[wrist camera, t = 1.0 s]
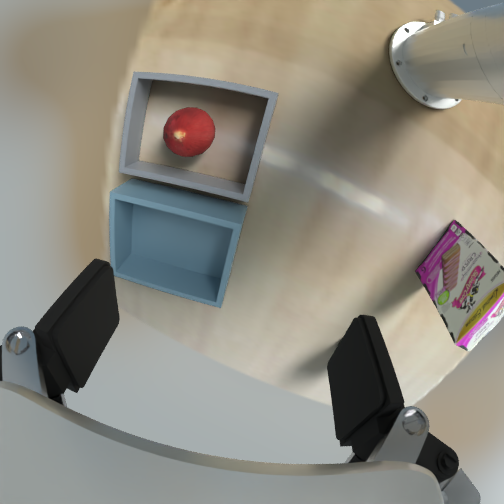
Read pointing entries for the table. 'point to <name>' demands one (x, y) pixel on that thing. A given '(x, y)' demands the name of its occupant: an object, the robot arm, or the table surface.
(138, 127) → the grey crate
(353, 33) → the table surface
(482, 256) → the candy bar box
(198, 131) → the onion
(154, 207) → the blue bin
